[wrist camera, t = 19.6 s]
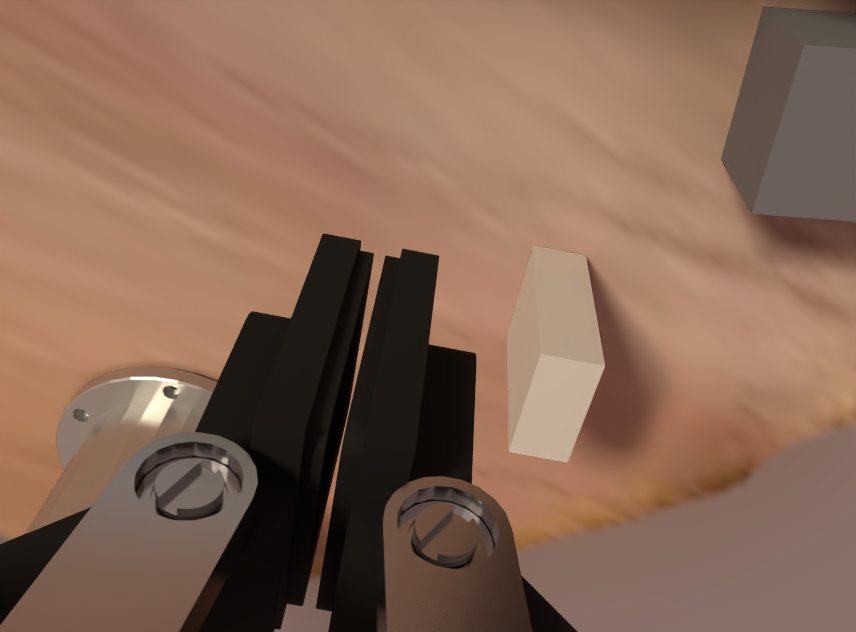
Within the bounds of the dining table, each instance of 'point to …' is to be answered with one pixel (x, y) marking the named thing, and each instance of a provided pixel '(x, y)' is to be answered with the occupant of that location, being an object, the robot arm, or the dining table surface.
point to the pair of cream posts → (552, 355)
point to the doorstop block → (797, 117)
